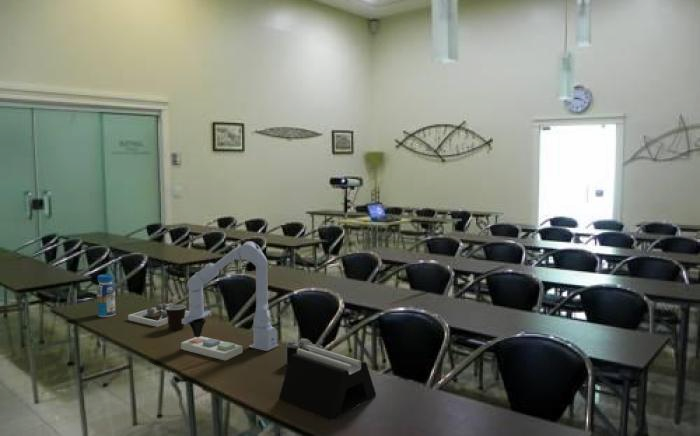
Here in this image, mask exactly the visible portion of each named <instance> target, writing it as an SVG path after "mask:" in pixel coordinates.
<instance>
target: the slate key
mask: <svg viewBox="0 0 700 436" xmlns="http://www.w3.org/2000/svg"><path fill="white" fill-rule="evenodd" d="M210 338H211V337H210ZM220 341H221V340H220V339H215V338H211V339H208V340H206V341H203V345H204V346H208V347H214V346H216V345H219V344H220Z"/></svg>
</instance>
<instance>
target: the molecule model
mask: <svg viewBox="0 0 700 436" xmlns="http://www.w3.org/2000/svg"><path fill="white" fill-rule="evenodd" d="M172 305H173V304H172V302H169V303H165V302H163V303H157V304H156V305H155V307H156V308H154V307H149V308H147V309H146V310H147V312H146V313H143V315H144V316H143V317H148V318H151V317H153V315H154V314H155V313H154V310H155V309H157V310H158V311H160V310H161V311H160V317H159V319H158V320H161V319H164V318H167V313H166V311H163V310H166V307H168V306H172ZM153 308H154V309H153Z"/></svg>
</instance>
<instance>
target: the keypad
mask: <svg viewBox="0 0 700 436" xmlns="http://www.w3.org/2000/svg"><path fill="white" fill-rule="evenodd" d="M195 338H201V339H205V340H208V339H211V337H206V336H201V335H200V337H192V338H189V339H187V340H185V341H182V342H181V343H180V350H182V349H183V351H187V352H191V353H194V354H199V355H203V356H206V357H210V358H214V359H218V360H222V361H228V360H230V359H232V358H234V357H236V356H238V355H240V354H243V352H244V351H243V350H244V348H243V347H244V346H243V345H240V344H236V343H234V344H235V348H233V349H231V350H228V351H224V350H220V349H218V345H216V346H214V347H208V346H204V345H203V342H201V343H198V344H196V343H192V342H189V341H190V340H193V339H195ZM224 342H225V341H224V340H220V344H222V343H224Z"/></svg>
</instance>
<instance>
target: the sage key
mask: <svg viewBox="0 0 700 436" xmlns="http://www.w3.org/2000/svg"><path fill="white" fill-rule="evenodd" d="M223 342H224V343H222V344H219V345H218V349H220V350H224V351H228V350H231V349H233V348H235V344H236V343H233V342H228V341H223Z"/></svg>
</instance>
